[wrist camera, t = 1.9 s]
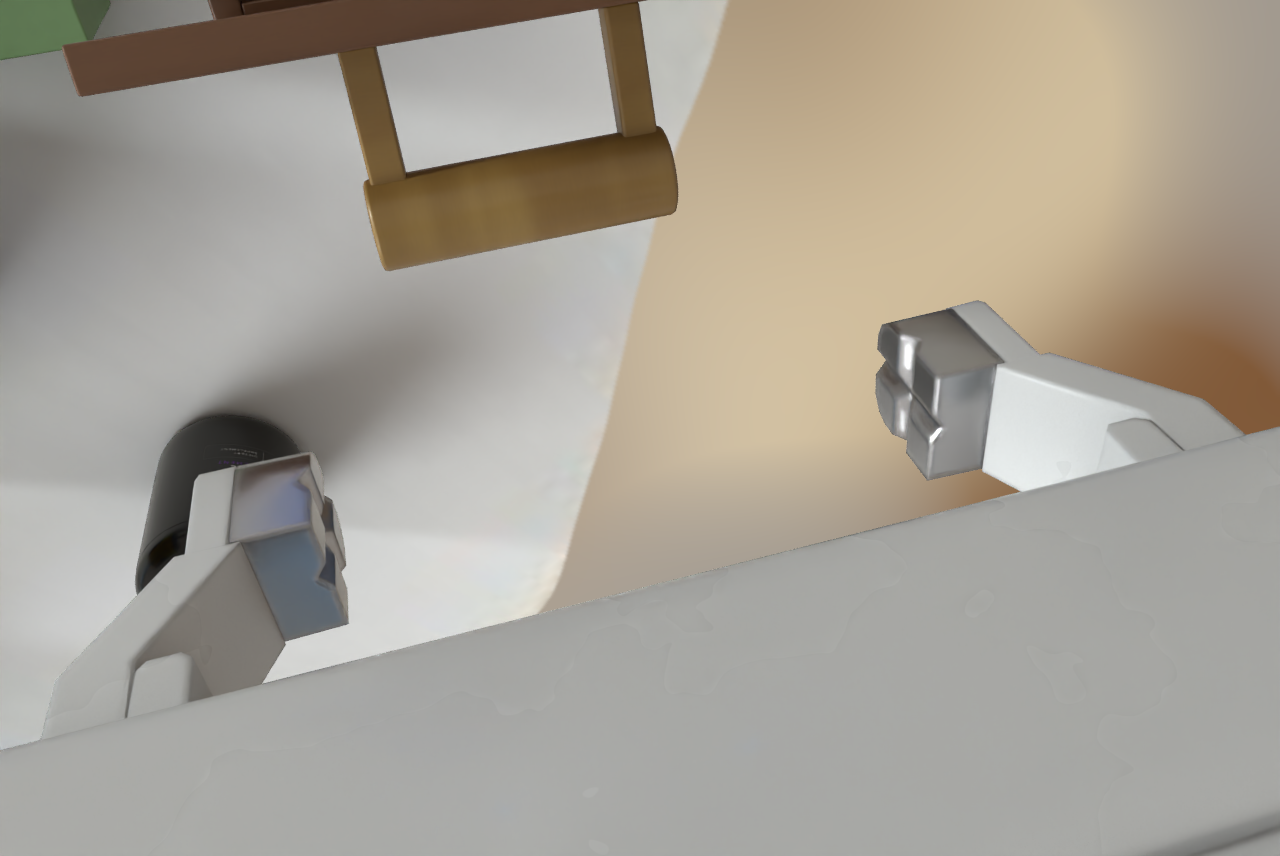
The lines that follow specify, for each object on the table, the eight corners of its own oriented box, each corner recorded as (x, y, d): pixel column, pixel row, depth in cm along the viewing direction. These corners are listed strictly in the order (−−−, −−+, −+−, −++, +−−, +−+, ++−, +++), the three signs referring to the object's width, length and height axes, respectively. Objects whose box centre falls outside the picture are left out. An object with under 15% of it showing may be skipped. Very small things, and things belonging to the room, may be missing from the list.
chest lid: (59, 45, 17) (163, 343, 19) (876, -89, 19) (892, 194, 21) (214, 29, 32) (263, 194, 34) (657, -44, 34) (679, 116, 36)
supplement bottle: (301, 405, 51) (301, 578, 41) (311, 514, 55) (313, 695, 45) (145, 413, 49) (108, 596, 40) (167, 525, 53) (138, 716, 43)
